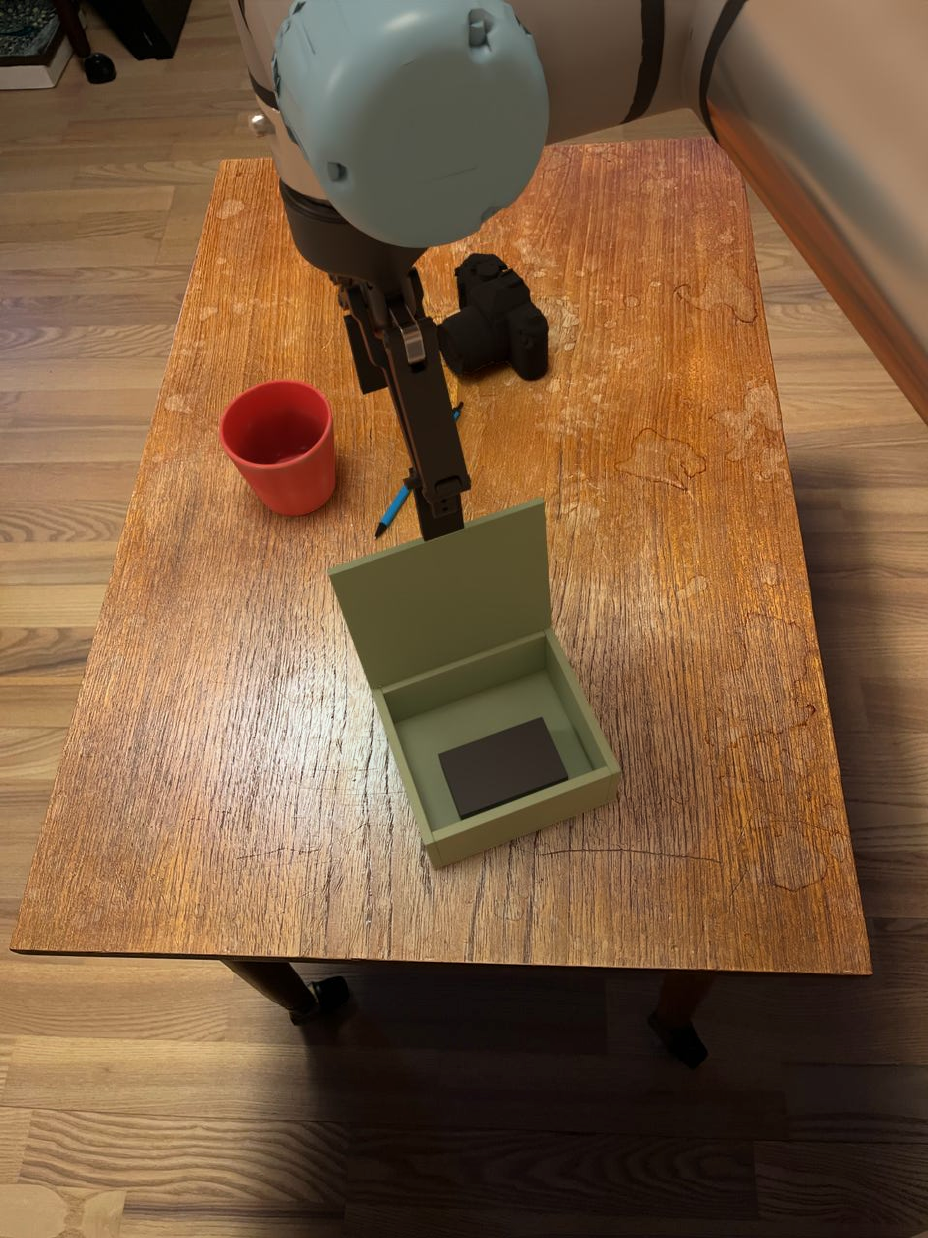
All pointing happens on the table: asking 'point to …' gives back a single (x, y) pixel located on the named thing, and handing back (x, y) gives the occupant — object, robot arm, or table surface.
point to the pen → (402, 495)
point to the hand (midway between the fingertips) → (409, 454)
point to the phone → (502, 768)
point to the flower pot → (282, 444)
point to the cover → (447, 593)
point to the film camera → (494, 321)
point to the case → (481, 706)
